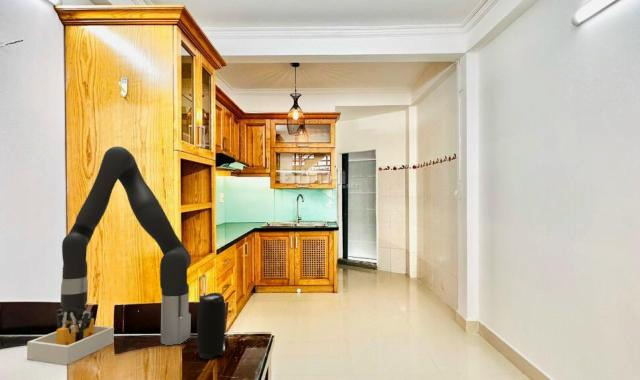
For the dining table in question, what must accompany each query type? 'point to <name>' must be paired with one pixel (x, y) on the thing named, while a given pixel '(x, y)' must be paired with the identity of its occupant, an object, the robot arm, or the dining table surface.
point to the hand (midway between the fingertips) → (73, 341)
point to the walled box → (64, 354)
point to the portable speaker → (211, 325)
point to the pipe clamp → (72, 334)
